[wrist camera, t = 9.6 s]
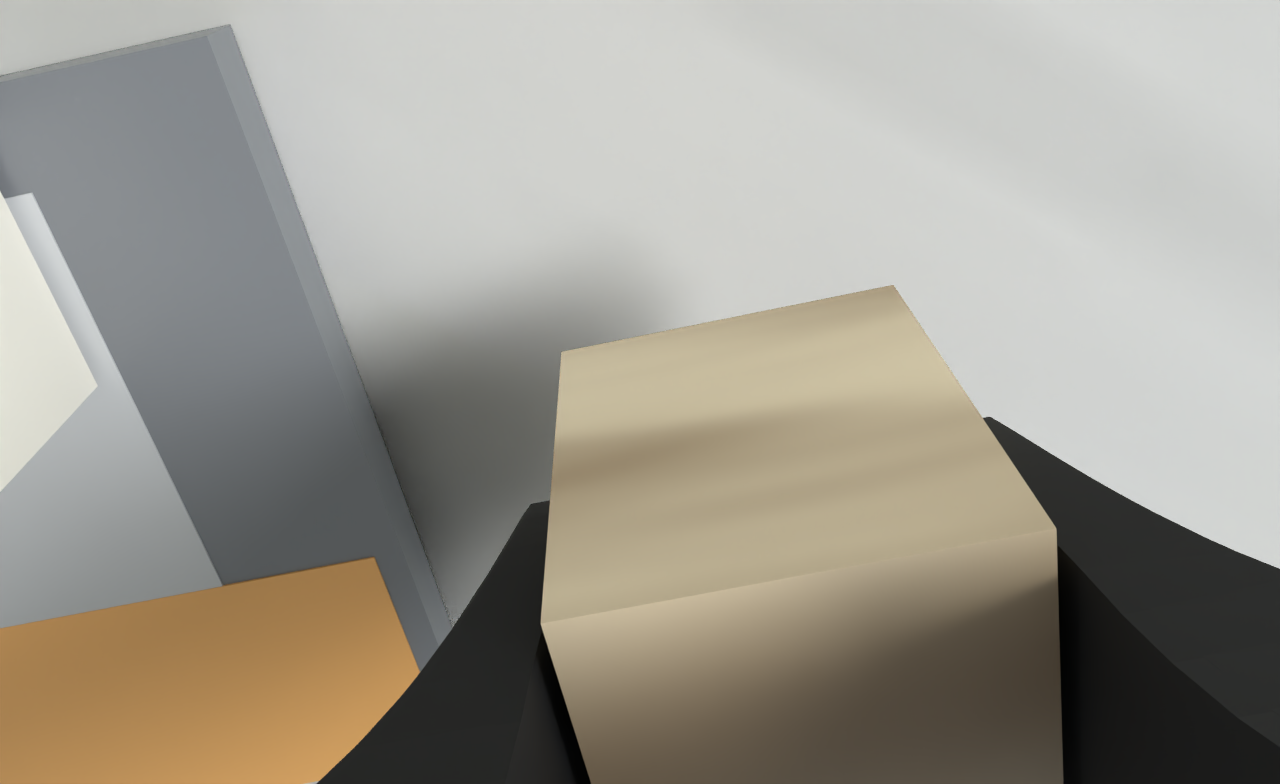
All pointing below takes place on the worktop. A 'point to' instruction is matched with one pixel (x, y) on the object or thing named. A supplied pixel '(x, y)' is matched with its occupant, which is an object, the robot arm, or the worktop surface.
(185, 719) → the breaker panel
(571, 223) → the worktop surface
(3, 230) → the cream white cube
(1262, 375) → the worktop surface
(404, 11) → the worktop surface
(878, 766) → the block
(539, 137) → the worktop surface
